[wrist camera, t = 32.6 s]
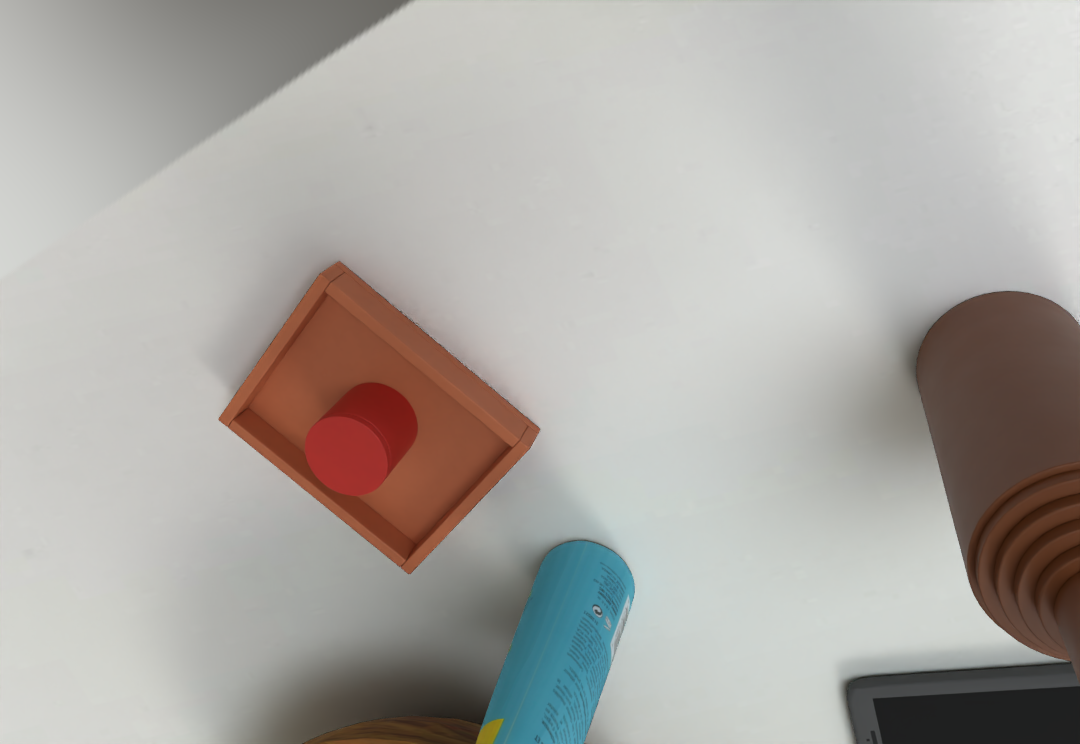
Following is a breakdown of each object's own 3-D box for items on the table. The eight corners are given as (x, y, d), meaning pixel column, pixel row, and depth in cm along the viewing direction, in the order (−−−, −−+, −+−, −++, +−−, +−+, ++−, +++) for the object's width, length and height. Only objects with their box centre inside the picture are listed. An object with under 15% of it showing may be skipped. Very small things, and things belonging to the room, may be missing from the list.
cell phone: (1186, 785, 44) (1192, 798, 43) (869, 794, 48) (870, 805, 48) (1174, 655, 41) (1180, 666, 41) (842, 677, 46) (843, 688, 45)
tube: (525, 520, 47) (367, 842, 30) (620, 514, 46) (510, 849, 29) (557, 643, 50) (429, 1003, 33) (648, 641, 48) (563, 1018, 31)
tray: (238, 402, 49) (217, 419, 47) (339, 260, 44) (319, 273, 42) (423, 552, 50) (409, 575, 48) (540, 429, 45) (530, 448, 43)
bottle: (881, 367, 40) (940, 687, 23) (1008, 258, 37) (1187, 529, 20) (993, 465, 40) (1135, 853, 23) (1127, 364, 37) (1405, 721, 20)
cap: (413, 467, 47) (383, 507, 44) (337, 445, 48) (301, 483, 44) (422, 394, 45) (391, 430, 42) (343, 372, 46) (307, 406, 43)
